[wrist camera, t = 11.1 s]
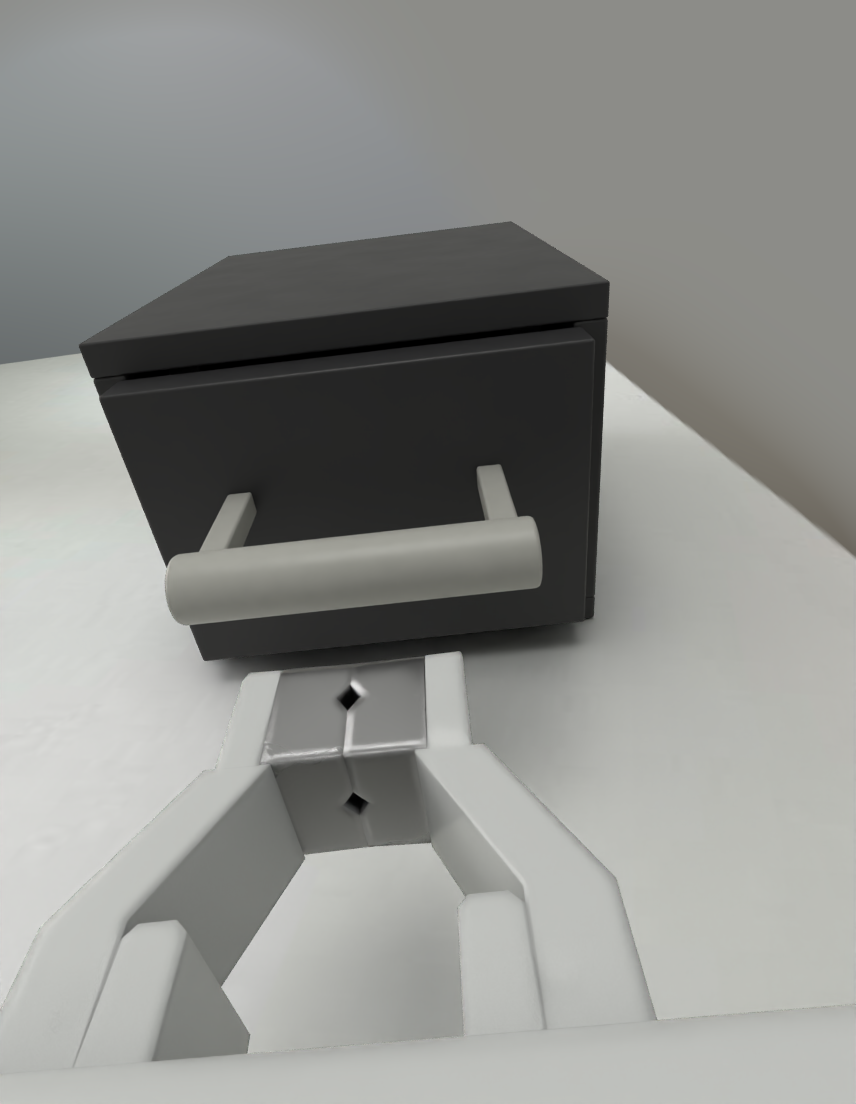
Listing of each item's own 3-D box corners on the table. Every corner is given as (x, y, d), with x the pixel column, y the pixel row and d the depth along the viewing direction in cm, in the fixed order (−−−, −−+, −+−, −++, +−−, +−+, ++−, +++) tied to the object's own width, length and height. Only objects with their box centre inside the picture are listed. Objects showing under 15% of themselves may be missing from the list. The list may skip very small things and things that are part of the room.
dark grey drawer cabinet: (594, 618, 19) (610, 280, 14) (203, 659, 19) (76, 344, 14) (518, 436, 31) (512, 221, 26) (280, 462, 32) (227, 256, 27)
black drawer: (631, 740, 14) (666, 404, 10) (154, 788, 14) (-11, 482, 10) (512, 438, 29) (506, 253, 25) (280, 464, 29) (235, 286, 25)
